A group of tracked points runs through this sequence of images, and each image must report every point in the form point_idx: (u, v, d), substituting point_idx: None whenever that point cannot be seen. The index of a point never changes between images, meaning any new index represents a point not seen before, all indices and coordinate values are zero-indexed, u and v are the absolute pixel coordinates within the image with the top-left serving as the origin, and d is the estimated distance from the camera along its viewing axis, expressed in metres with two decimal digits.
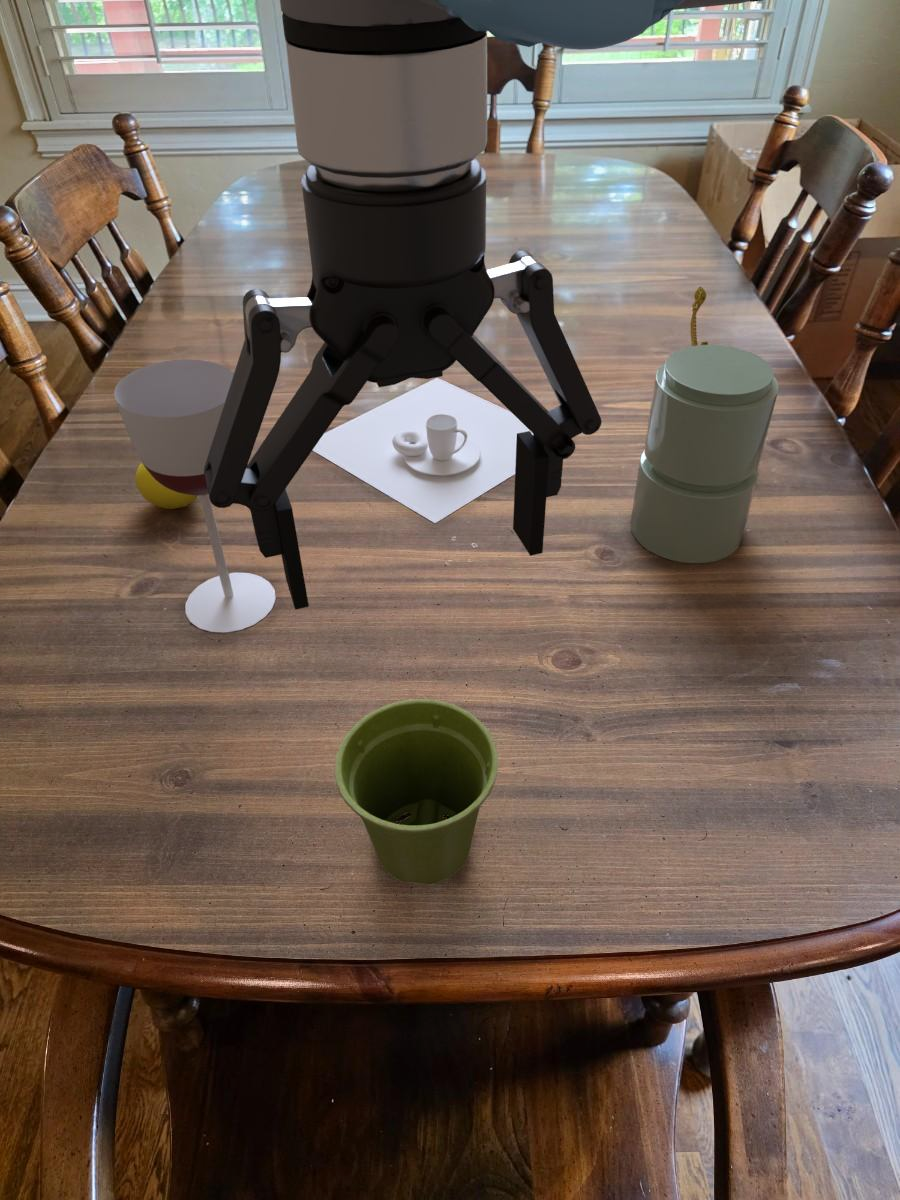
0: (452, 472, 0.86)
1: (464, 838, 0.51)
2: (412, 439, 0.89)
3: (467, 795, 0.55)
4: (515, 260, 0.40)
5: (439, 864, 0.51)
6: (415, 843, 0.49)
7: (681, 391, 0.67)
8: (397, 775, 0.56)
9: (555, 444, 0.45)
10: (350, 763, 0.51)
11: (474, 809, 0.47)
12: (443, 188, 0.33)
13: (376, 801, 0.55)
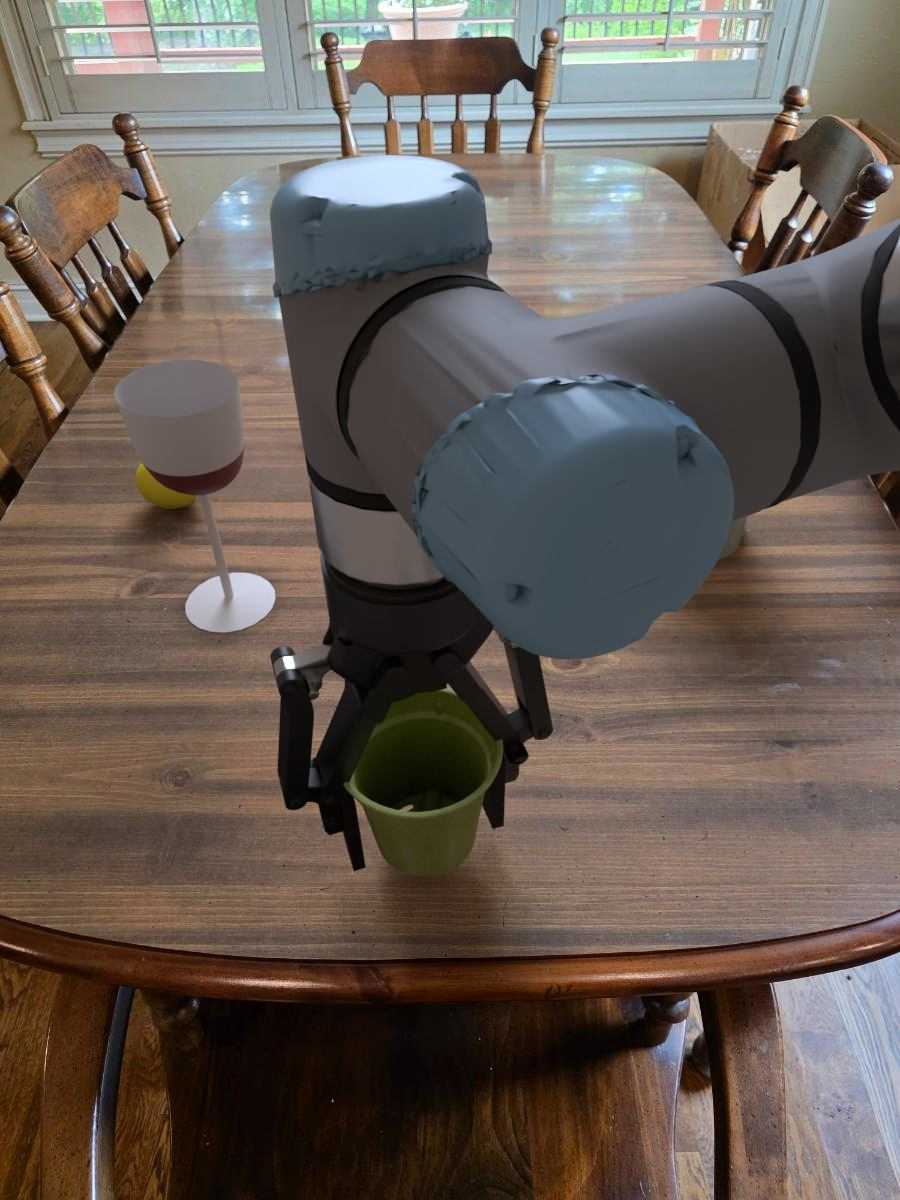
0: None
1: (468, 828, 0.50)
2: None
3: (471, 785, 0.53)
4: None
5: (442, 855, 0.50)
6: (418, 831, 0.47)
7: None
8: (399, 766, 0.54)
9: (511, 750, 0.50)
10: None
11: (478, 795, 0.46)
12: (447, 583, 0.37)
13: (378, 792, 0.54)
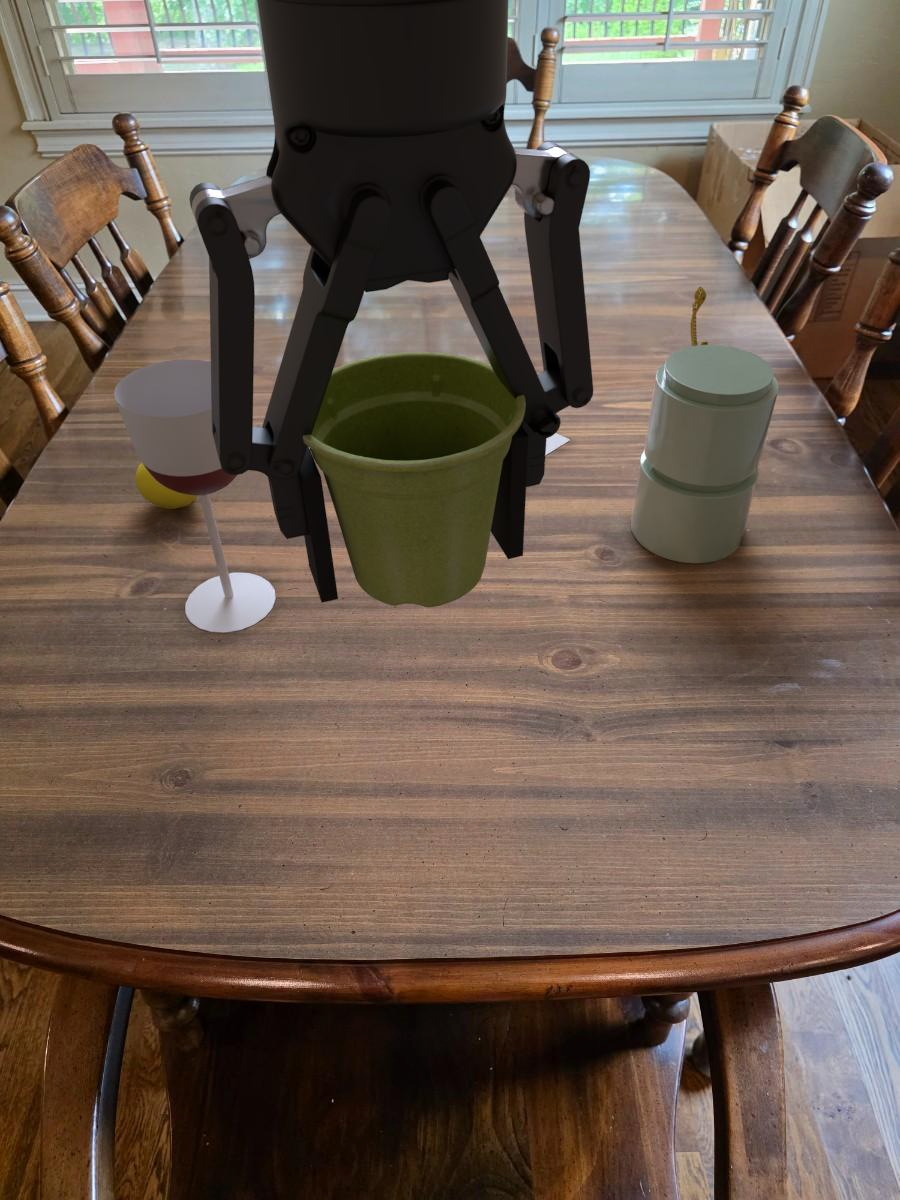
0: None
1: (477, 524, 0.36)
2: None
3: None
4: (544, 149, 0.31)
5: (441, 565, 0.36)
6: (408, 510, 0.34)
7: (681, 391, 0.67)
8: None
9: (536, 418, 0.36)
10: None
11: (493, 445, 0.32)
12: None
13: None
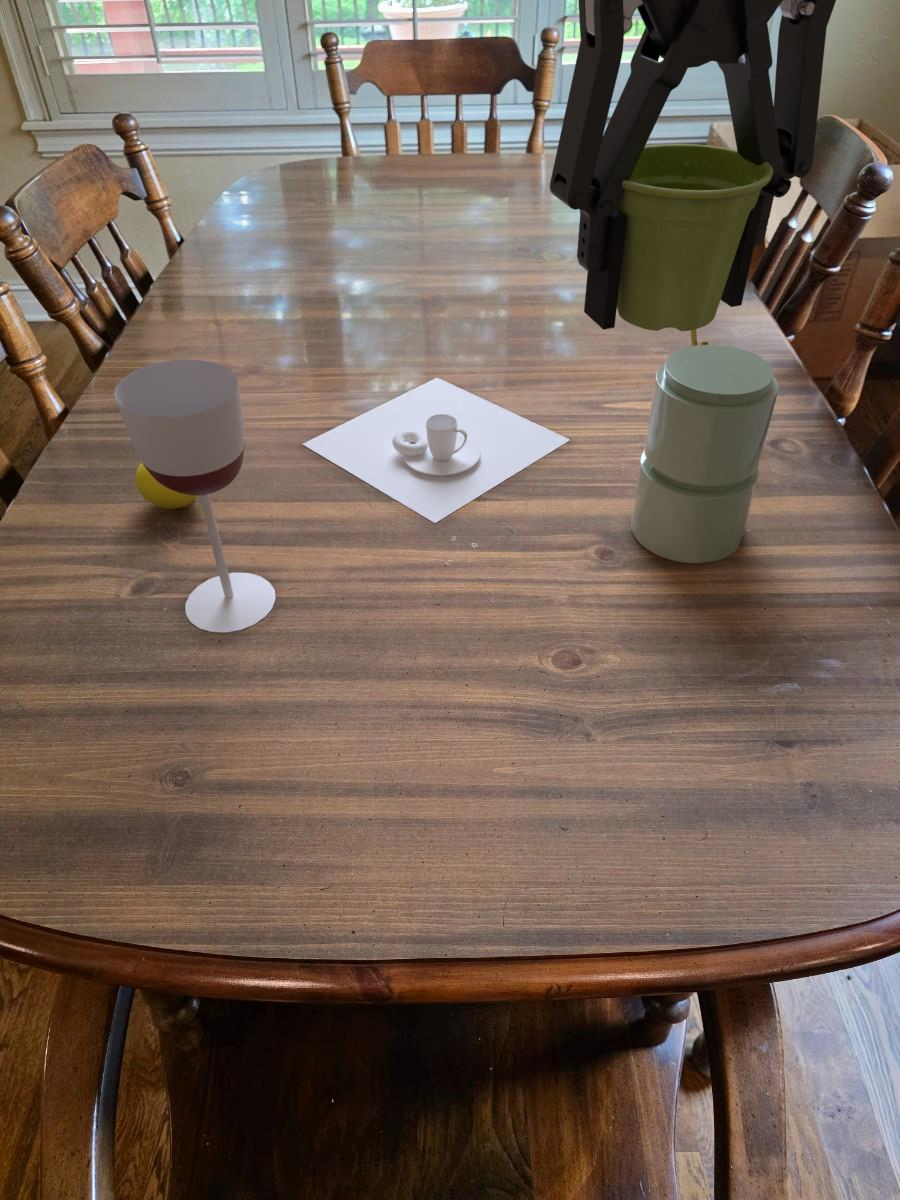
0: (452, 472, 0.86)
1: (729, 259, 0.50)
2: (412, 439, 0.89)
3: None
4: None
5: (701, 290, 0.50)
6: (691, 238, 0.48)
7: (681, 391, 0.67)
8: None
9: (772, 183, 0.50)
10: None
11: (760, 184, 0.46)
12: None
13: None
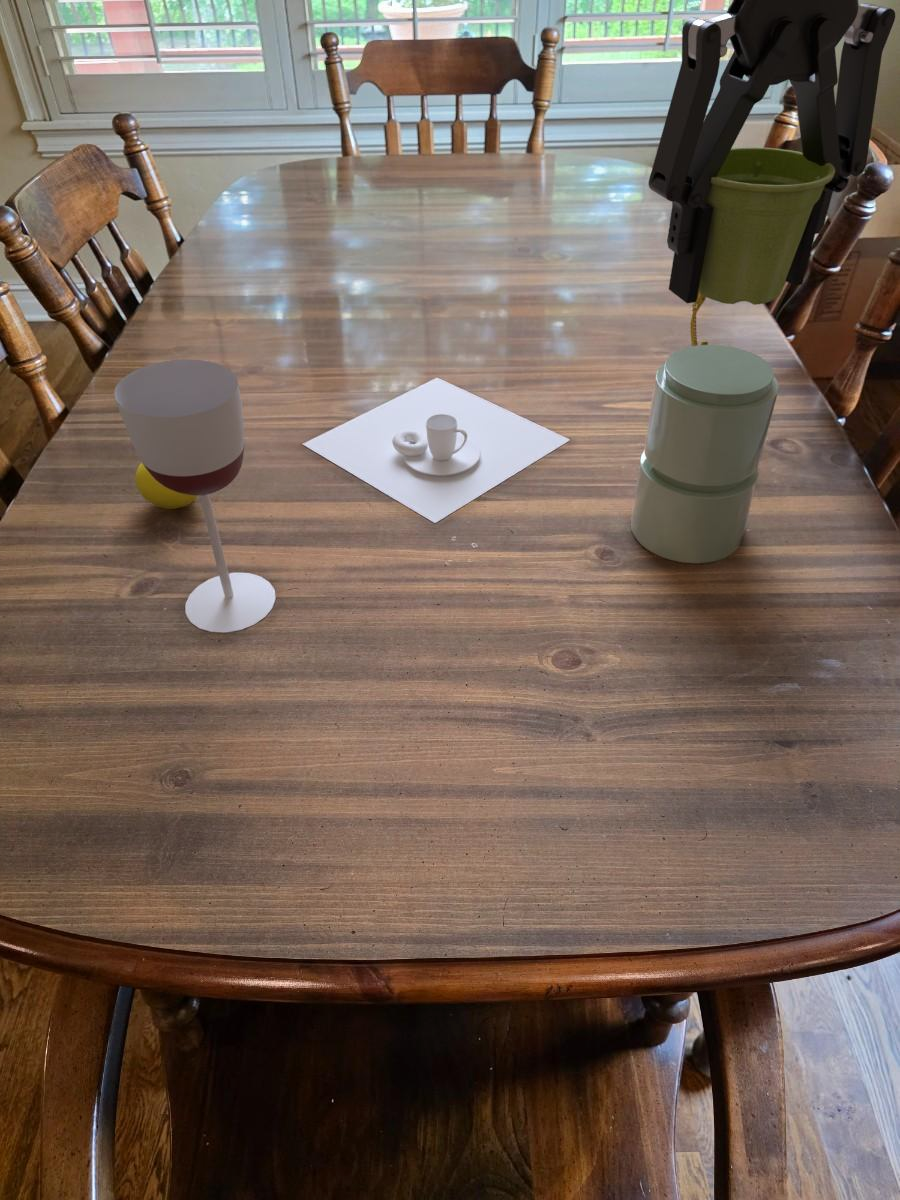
0: (452, 472, 0.86)
1: (796, 243, 0.60)
2: (412, 439, 0.89)
3: None
4: (864, 6, 0.55)
5: (772, 269, 0.60)
6: (767, 225, 0.58)
7: (681, 391, 0.67)
8: None
9: (832, 180, 0.60)
10: None
11: (826, 180, 0.56)
12: None
13: None
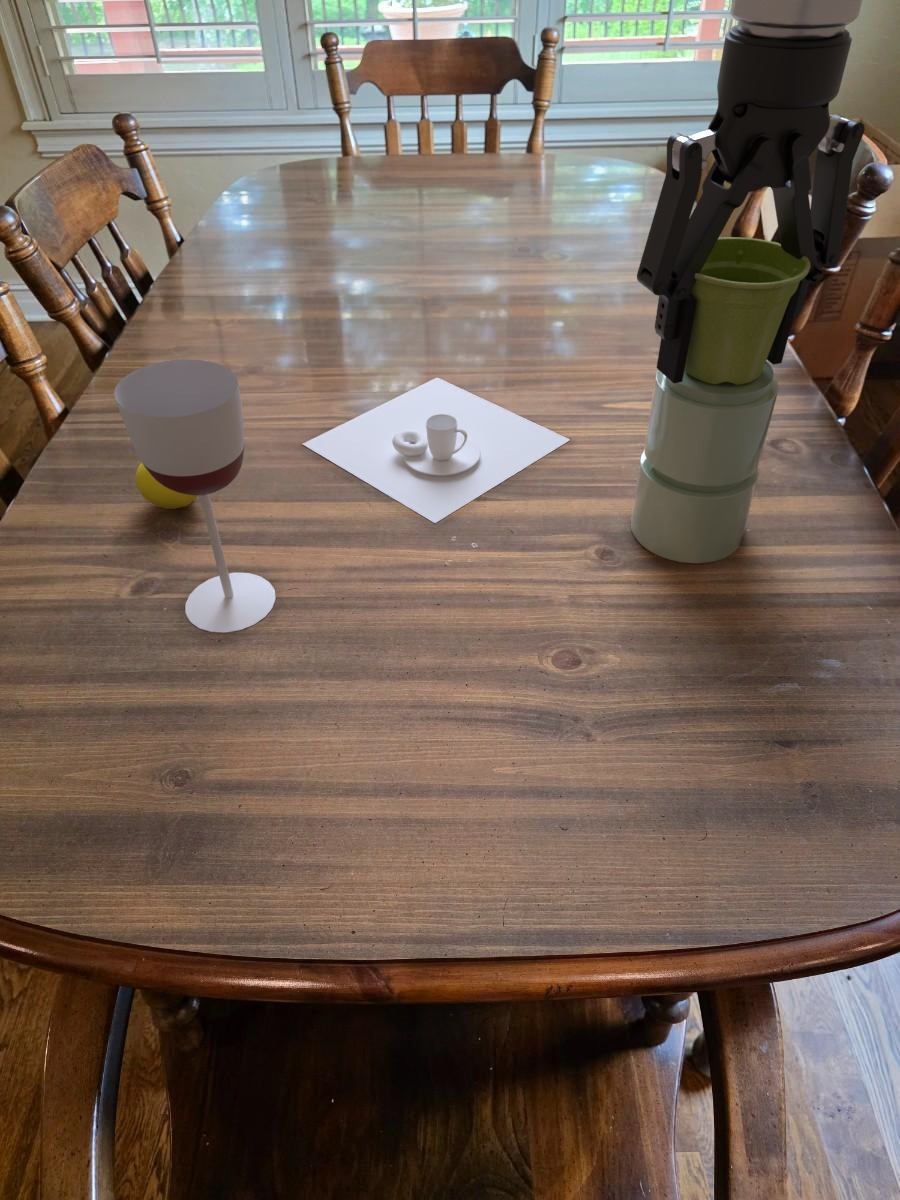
0: (452, 472, 0.86)
1: (775, 330, 0.64)
2: (412, 439, 0.89)
3: None
4: (836, 118, 0.59)
5: (753, 354, 0.64)
6: (747, 316, 0.62)
7: (681, 391, 0.67)
8: None
9: (808, 272, 0.64)
10: None
11: (801, 277, 0.60)
12: (836, 38, 0.52)
13: None
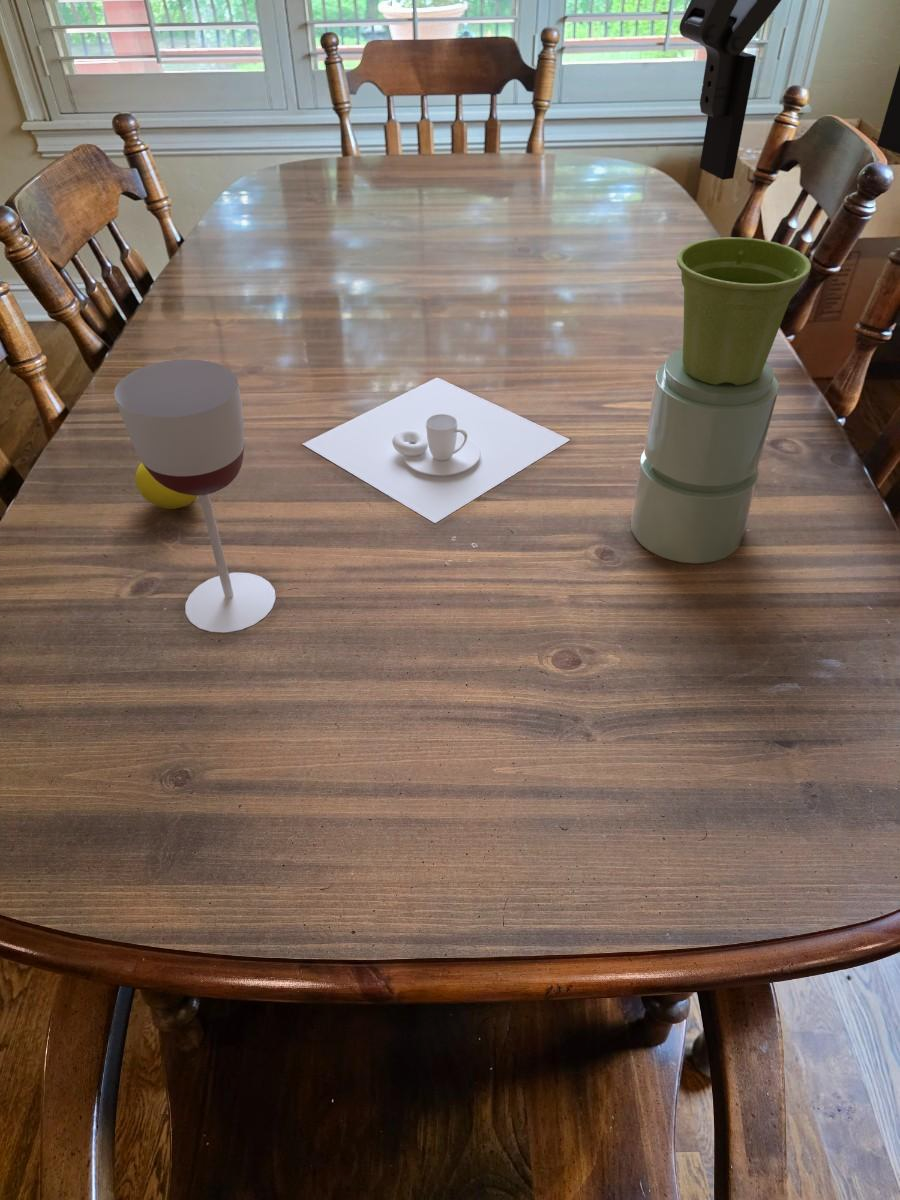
0: (452, 472, 0.86)
1: (775, 331, 0.64)
2: (412, 439, 0.89)
3: None
4: None
5: (753, 355, 0.64)
6: (747, 317, 0.62)
7: (681, 391, 0.67)
8: None
9: None
10: (682, 274, 0.64)
11: (801, 278, 0.60)
12: None
13: None
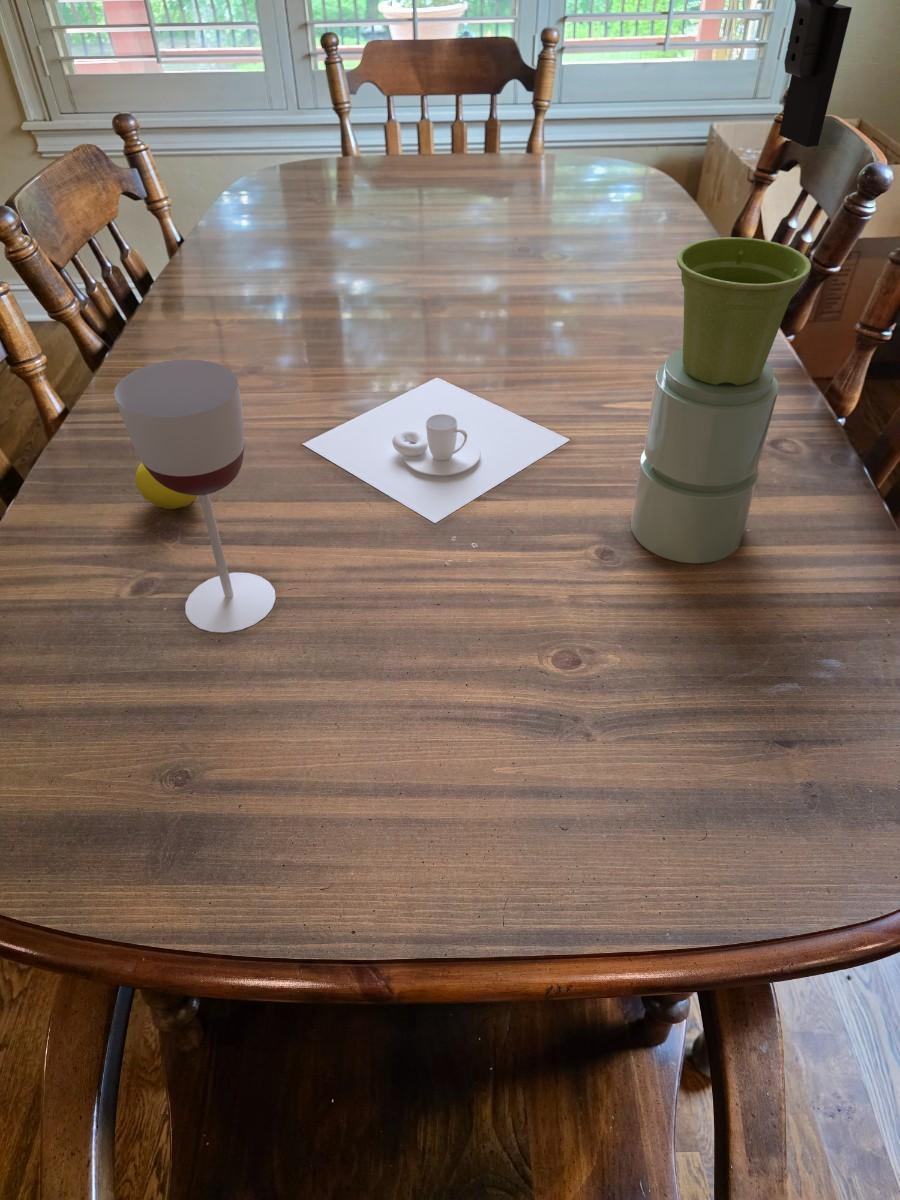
0: (452, 472, 0.86)
1: (775, 331, 0.64)
2: (412, 439, 0.89)
3: None
4: None
5: (753, 355, 0.64)
6: (747, 317, 0.62)
7: (681, 391, 0.67)
8: None
9: None
10: (682, 274, 0.64)
11: (801, 278, 0.60)
12: None
13: None
